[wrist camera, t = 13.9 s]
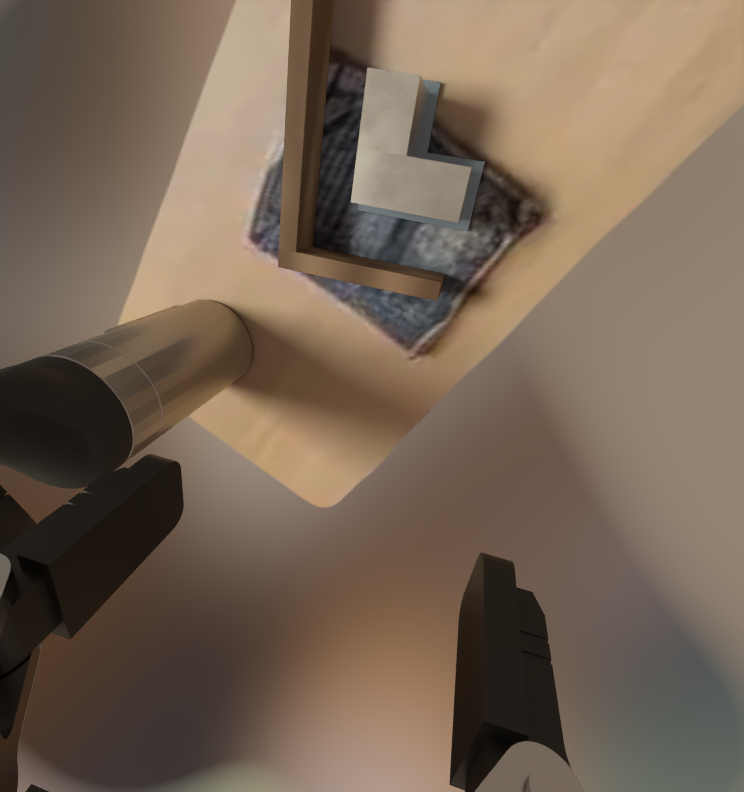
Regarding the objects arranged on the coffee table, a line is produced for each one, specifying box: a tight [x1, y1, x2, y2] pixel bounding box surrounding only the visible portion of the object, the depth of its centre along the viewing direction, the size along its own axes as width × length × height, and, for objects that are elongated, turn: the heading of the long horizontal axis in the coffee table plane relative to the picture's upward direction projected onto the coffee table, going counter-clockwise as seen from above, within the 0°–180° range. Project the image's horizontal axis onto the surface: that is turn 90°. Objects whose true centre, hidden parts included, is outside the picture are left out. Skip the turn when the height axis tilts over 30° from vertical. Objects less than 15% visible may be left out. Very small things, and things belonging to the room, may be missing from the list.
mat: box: [357, 80, 485, 231], centre depth 33 cm, size 10×10×1 cm
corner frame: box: [278, 0, 445, 301], centre depth 32 cm, size 14×20×4 cm
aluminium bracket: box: [351, 68, 473, 223], centre depth 30 cm, size 8×8×5 cm
